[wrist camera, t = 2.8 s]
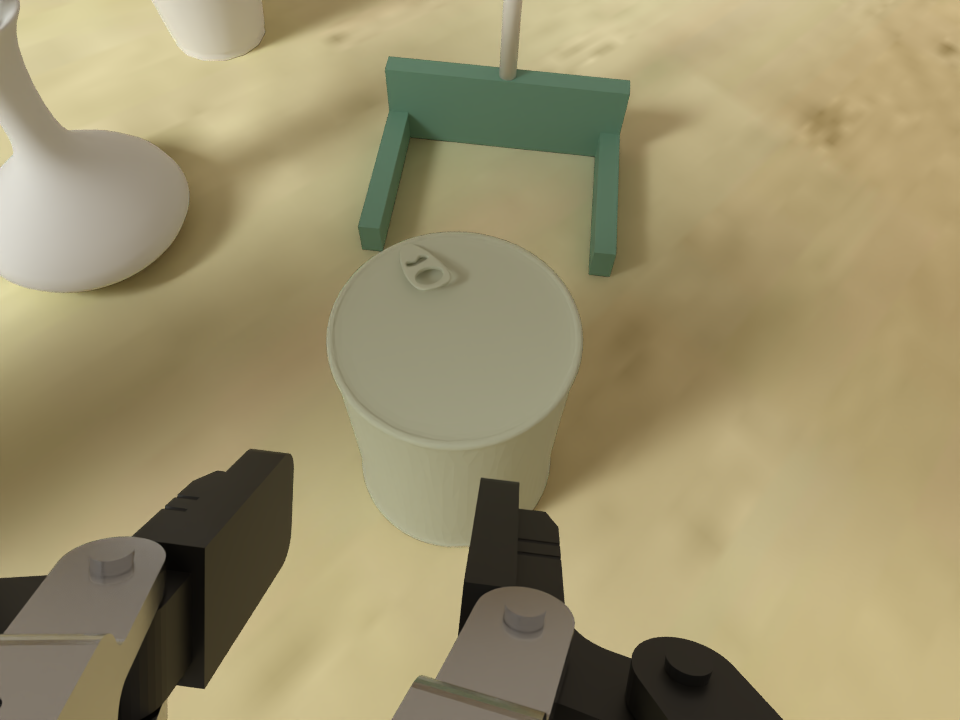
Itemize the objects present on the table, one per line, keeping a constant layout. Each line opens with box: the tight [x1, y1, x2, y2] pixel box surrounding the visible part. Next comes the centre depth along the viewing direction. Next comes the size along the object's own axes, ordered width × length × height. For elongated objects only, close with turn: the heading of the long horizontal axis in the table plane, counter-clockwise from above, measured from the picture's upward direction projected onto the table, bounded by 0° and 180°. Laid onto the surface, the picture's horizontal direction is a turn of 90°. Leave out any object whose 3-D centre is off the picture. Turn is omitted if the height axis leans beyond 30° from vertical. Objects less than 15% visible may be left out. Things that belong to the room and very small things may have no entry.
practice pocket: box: [358, 0, 630, 277], centre depth 37 cm, size 11×14×15 cm
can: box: [326, 232, 583, 547], centre depth 30 cm, size 9×9×12 cm
